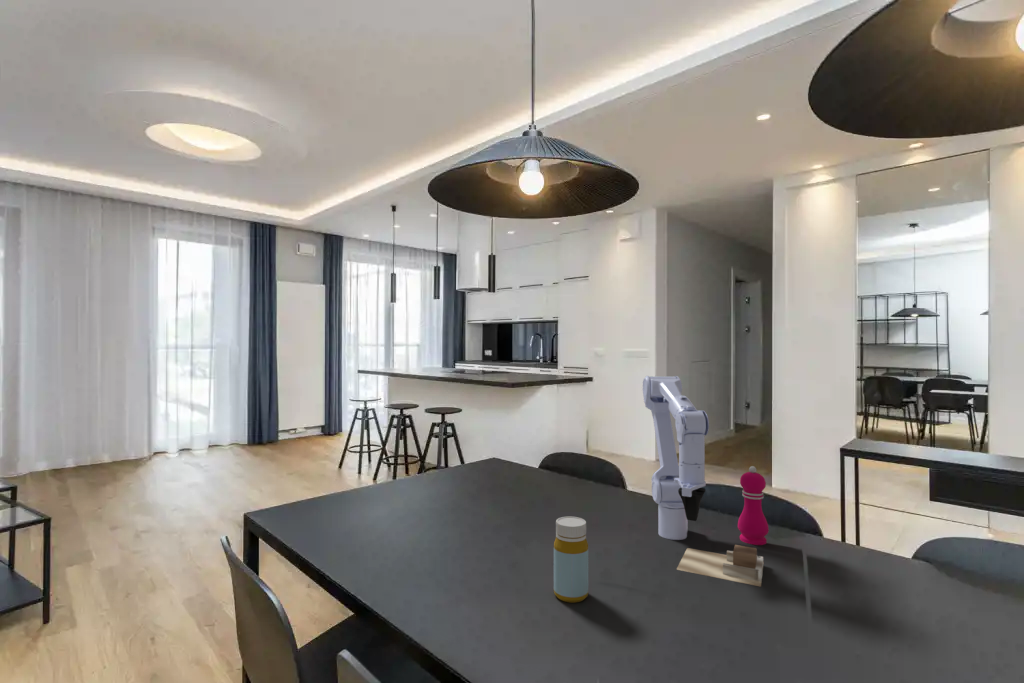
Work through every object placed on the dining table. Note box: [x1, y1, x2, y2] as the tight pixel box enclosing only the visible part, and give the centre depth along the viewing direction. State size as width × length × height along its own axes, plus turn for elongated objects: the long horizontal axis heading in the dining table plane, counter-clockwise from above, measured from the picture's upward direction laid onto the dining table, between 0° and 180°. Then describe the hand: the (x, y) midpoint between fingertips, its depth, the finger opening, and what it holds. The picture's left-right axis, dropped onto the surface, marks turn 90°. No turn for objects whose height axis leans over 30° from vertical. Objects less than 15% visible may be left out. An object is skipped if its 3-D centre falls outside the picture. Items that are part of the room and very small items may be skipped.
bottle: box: [553, 516, 589, 603], centre depth 104 cm, size 7×7×15 cm
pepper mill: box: [737, 465, 770, 546], centre depth 132 cm, size 7×7×20 cm
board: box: [676, 547, 765, 588], centre depth 116 cm, size 14×17×3 cm
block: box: [732, 544, 758, 569], centre depth 114 cm, size 4×4×4 cm
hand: (691, 519), depth 121 cm, fingers closed
